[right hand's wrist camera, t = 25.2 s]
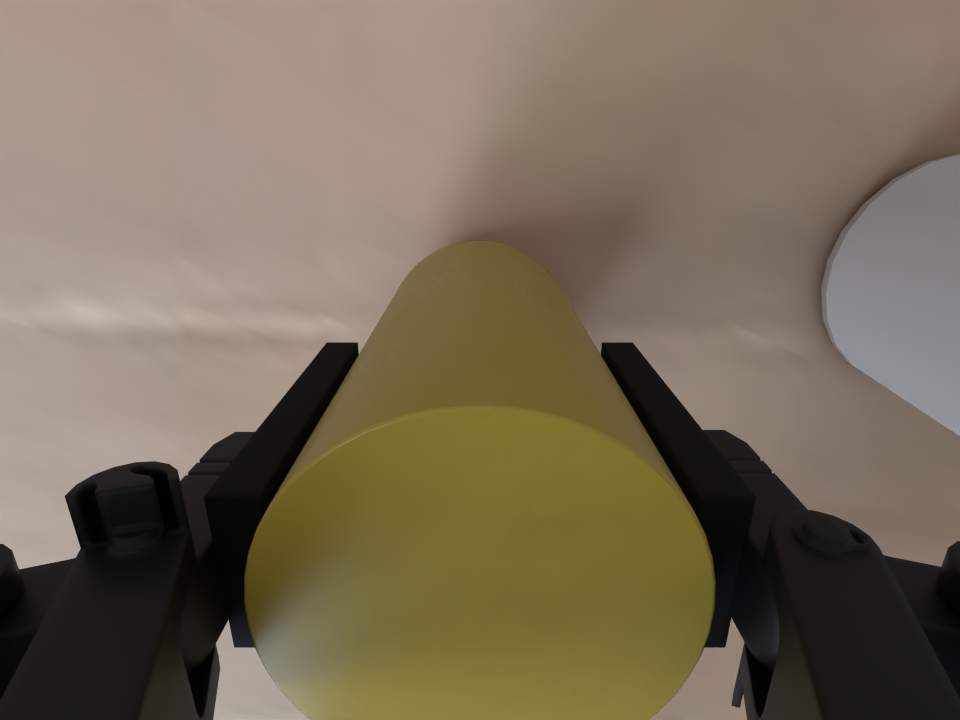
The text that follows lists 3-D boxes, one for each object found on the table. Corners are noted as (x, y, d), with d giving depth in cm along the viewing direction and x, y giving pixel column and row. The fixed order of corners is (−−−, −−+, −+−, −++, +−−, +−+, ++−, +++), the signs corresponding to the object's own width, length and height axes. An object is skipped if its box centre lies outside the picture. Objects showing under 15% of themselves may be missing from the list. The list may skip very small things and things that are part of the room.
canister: (591, 261, 18) (794, 460, 6) (544, 427, 20) (633, 802, 8) (405, 222, 17) (260, 358, 6) (377, 395, 19) (229, 745, 8)
